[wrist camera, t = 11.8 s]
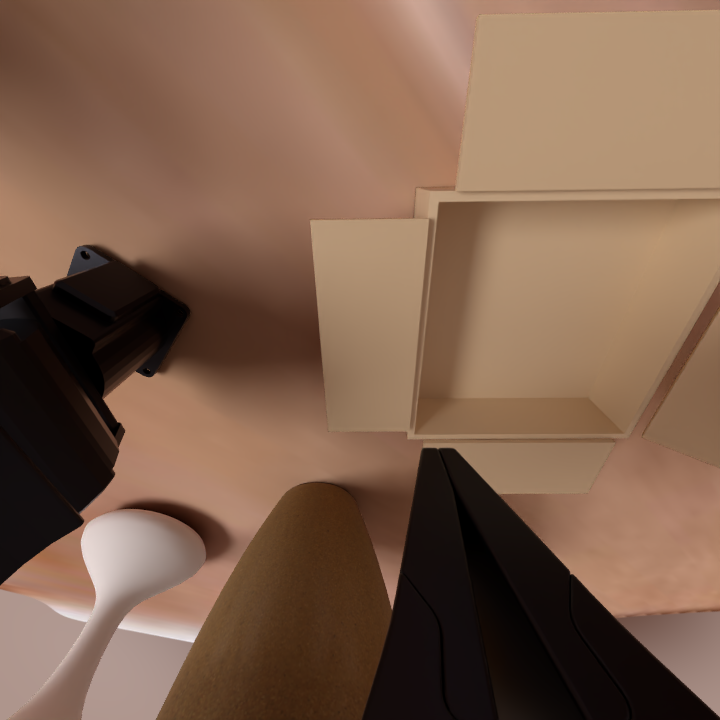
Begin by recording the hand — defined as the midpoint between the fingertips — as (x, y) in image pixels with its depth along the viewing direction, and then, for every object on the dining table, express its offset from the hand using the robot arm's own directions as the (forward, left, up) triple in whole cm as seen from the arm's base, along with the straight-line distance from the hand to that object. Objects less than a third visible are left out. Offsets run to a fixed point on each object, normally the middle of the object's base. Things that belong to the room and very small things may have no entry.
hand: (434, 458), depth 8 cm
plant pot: (-20, -9, -13) cm, 25 cm away
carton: (+3, -5, -13) cm, 14 cm away
